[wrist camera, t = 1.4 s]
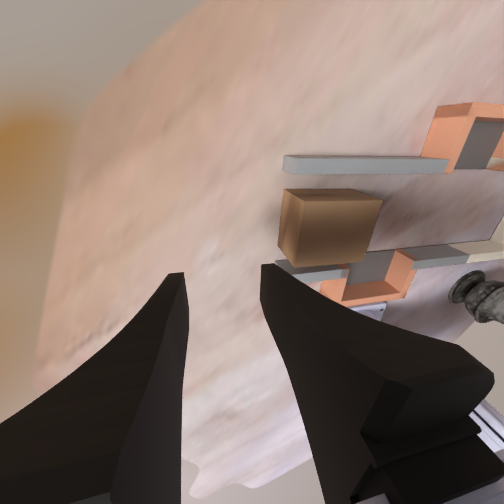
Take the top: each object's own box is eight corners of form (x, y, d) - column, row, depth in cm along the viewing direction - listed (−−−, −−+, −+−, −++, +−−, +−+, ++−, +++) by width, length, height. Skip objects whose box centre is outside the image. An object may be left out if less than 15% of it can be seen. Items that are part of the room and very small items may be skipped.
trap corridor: (476, 272, 28) (499, 283, 26) (271, 299, 22) (279, 317, 20) (569, 115, 20) (614, 113, 18) (288, 96, 14) (305, 89, 12)
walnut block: (335, 241, 21) (363, 261, 18) (277, 244, 20) (294, 267, 16) (348, 188, 19) (382, 200, 15) (283, 188, 17) (304, 201, 14)
